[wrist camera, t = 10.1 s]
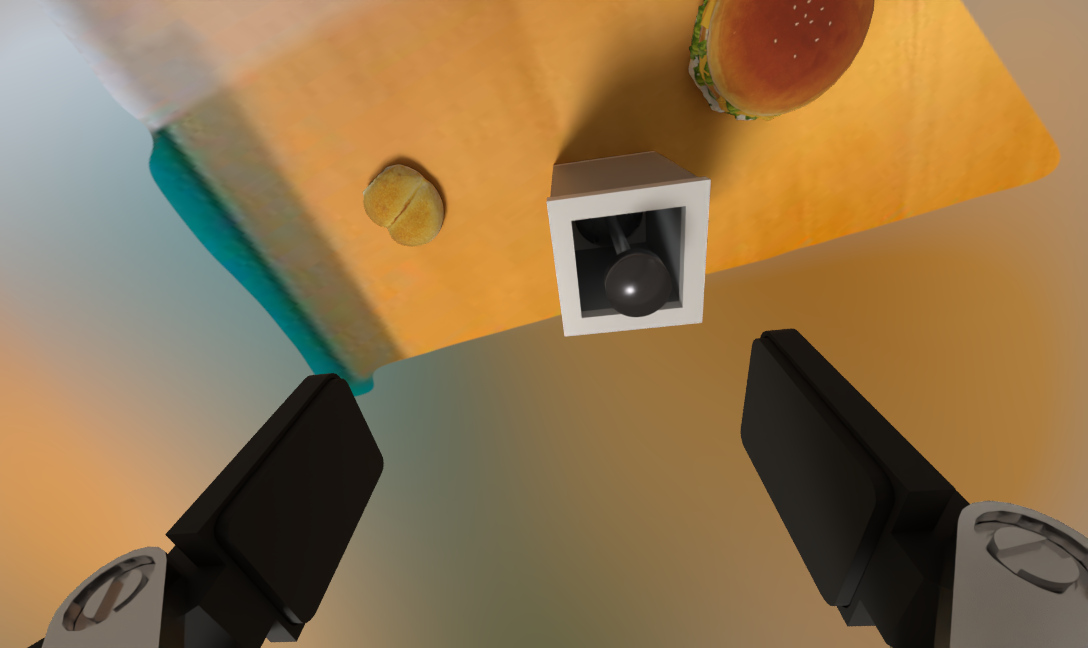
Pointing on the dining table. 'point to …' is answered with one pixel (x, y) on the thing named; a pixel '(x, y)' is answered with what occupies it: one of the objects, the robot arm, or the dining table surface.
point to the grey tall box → (665, 229)
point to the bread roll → (404, 205)
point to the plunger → (628, 266)
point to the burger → (774, 52)
